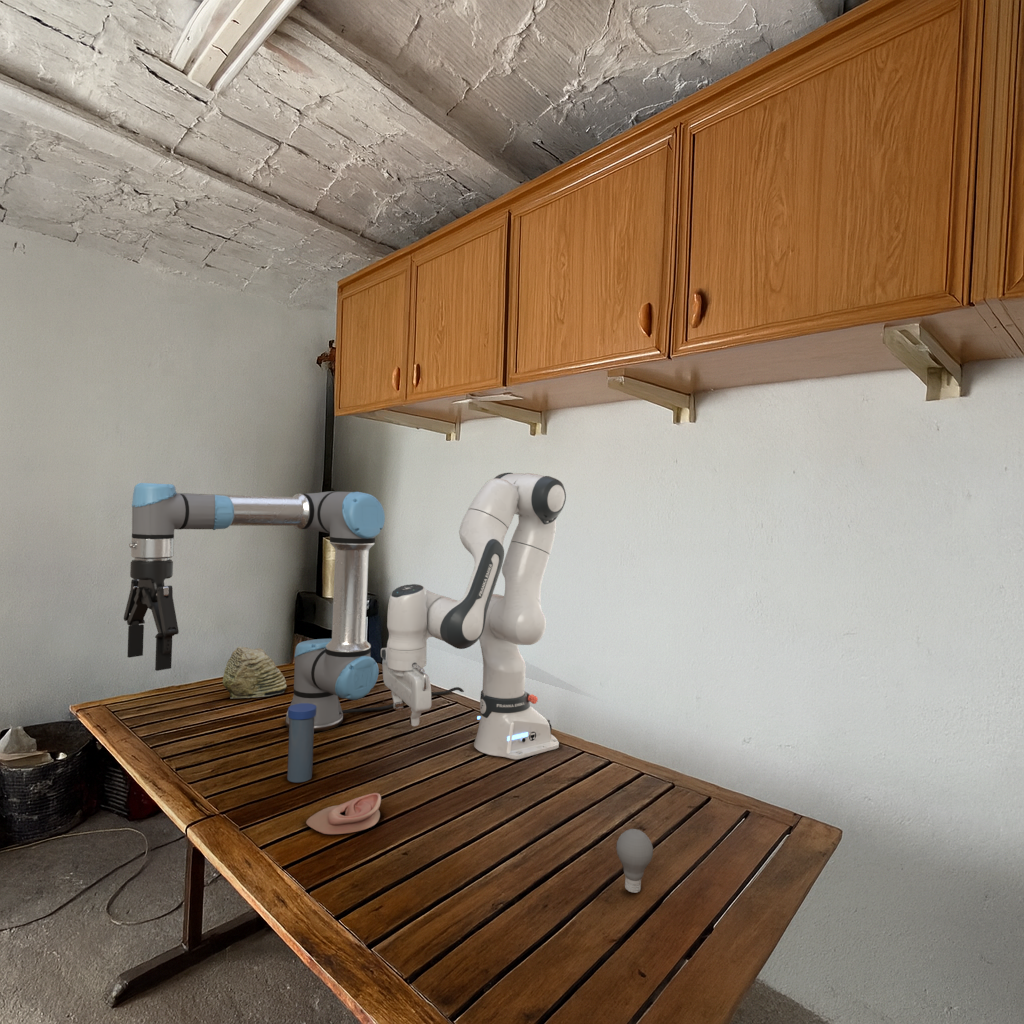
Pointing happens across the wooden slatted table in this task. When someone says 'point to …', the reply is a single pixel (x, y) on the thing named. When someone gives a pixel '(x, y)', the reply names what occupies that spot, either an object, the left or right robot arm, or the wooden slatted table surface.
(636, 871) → the light bulb
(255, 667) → the fossil
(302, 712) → the lid
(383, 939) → the wooden slatted table surface
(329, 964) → the wooden slatted table surface
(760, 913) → the wooden slatted table surface
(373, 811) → the anatomical model
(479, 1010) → the wooden slatted table surface
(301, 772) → the jar
